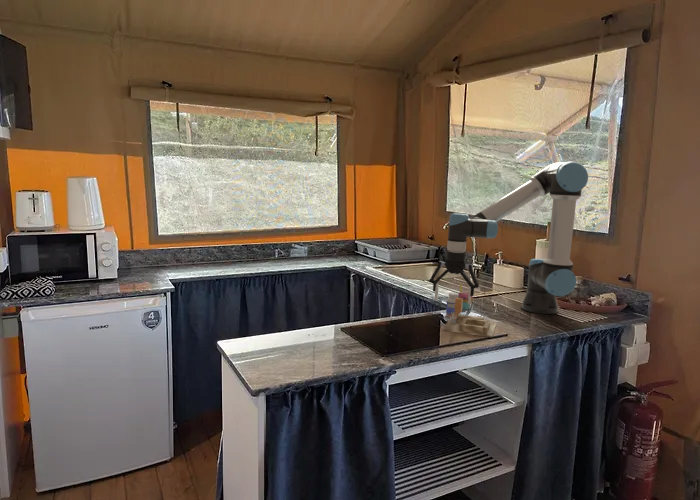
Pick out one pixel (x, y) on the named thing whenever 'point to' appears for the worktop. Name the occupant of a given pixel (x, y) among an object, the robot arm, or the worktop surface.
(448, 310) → the pill bottle
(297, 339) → the worktop surface
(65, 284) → the worktop surface
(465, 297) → the cupcake
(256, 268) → the worktop surface
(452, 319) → the lock bar
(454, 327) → the mount
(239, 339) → the worktop surface
